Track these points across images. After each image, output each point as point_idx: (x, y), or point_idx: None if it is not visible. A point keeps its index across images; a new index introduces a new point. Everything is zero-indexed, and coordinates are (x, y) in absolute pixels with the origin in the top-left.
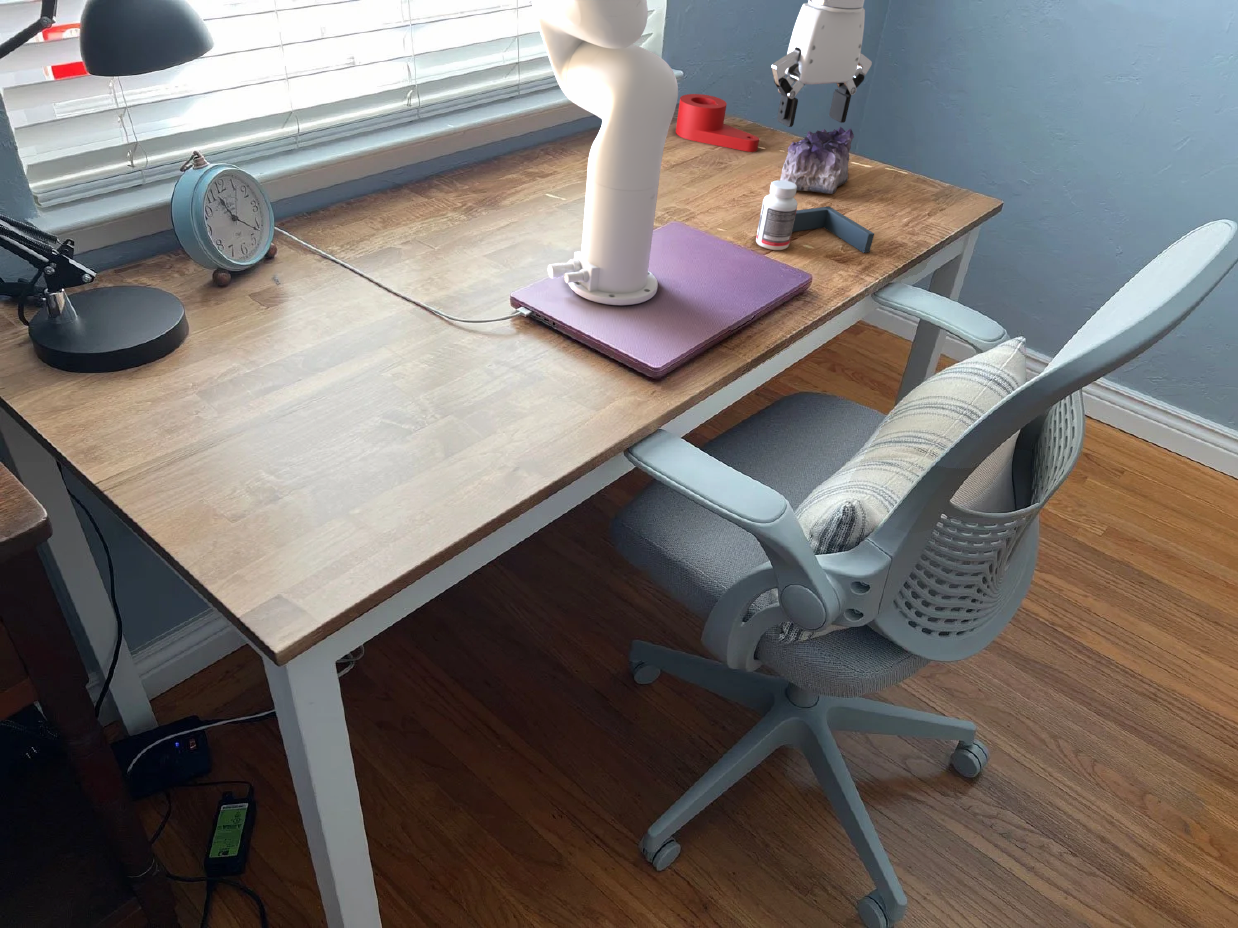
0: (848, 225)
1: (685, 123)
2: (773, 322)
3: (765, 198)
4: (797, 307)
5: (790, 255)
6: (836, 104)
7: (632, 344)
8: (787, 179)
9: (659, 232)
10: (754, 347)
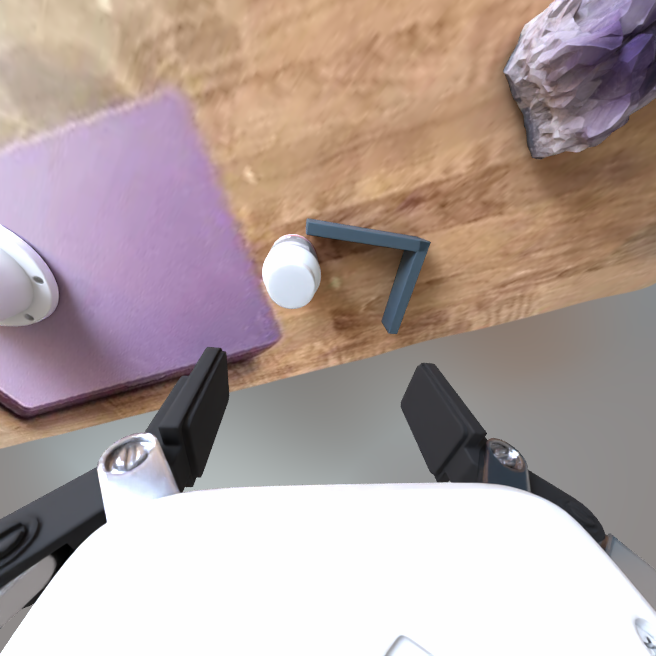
0: (399, 297)
1: None
2: None
3: (267, 263)
4: None
5: None
6: (430, 414)
7: (5, 376)
8: (520, 55)
9: (122, 126)
10: (138, 409)
